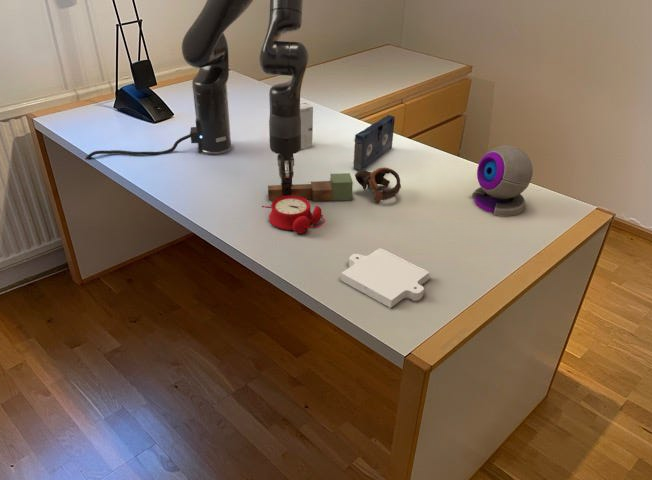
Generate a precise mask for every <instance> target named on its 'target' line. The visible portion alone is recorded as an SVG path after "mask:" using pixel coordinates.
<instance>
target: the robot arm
mask: <svg viewBox="0 0 652 480" xmlns="http://www.w3.org/2000/svg"><path fill="white" fill-rule="evenodd" d="M303 1H304V0H269V18H268V26H267V30H266V34H265V37H264V40H263V43H262V45H261V49H260V54H259V65H260V68H261V70H262V71H263V72H264V73H265V74H266V75H269V76H284V77H285V76H286V77H287V76H288V77H291V78H290V80H288V81H286V82H281V83H276V84H274V85H272V86H271V87H270V89H269V92H268V95H269V117H268V130H269V131H268V134H269V135H268V137H269V149H270V151H271V152H272V153H274V154H277V155H276V157H277V167H278V171H279V172H278V175H279V178H280V185H281V186H282V195H283V196H289V195H291V187H292V186H293V185H294V184H293V178H294V166H295V157H294V155H295V154H297V153H299V152H300V151H301V150H302V149H301V116H300V104H301V91H302V87H303V86H302V85H303V80H304V77H305V74H306V71H307V67H308V63H309V57H310V56H309V51H308V48H307V46H306V45H305V44H304V43H303V42H301V41H292V40H291V41H288V40H287V41H285V40H279V39H280V38H281V37H282V36H283V35H286V34H290V33H294V32H298V31H299V30H300V29H301V27H302V20H303ZM253 2H254V0H206V2H205V4H204V5H203V8H202V9H201V11H200V12H199V14H198V16H197V17H196V19H195V20H194V22H193V23H192V24H191V26H190V27H189V29H188V30H187V32H186V33H185V34H184V36H183V38H182V42H181V54H182V57H183V59H184V61H185V62H186V63H187V65H189V66H191V67H192V68H197V69H198V71H197V73H196V74H195V76H194V77H193V79H192V80H191V81H192V83H191V85H192V95H193V102H194V111H195V126H191V127H190V132H189V133H188V134H187V135H185V136H182V137H180V138H179V139H176V141H175V142H174V143H173V145H172V147H170V148H168V149H166V150H162V151H131V150H120V149H119V150H118V149H115V150H114V149H111V150H94V151H92V152H90V153H89V154H87V155H86V157H85V158H84V159H85V160H90V159H91V158H92V157H93V156H95V155H112V154H113V155H115V154H117V155H118V154H122V155H133V156H157V155H165V154H169V153H172V152H173V151H175V150H176V149H177V147H178V145H179V144H180V143H181V142H184V141H185V140H187V139H190V143H191V144H197V148H198V154H199V153H200V154H206V155H223V154H226V153H228V152H230V151H231V150H232V145H233V144H232V139H231V138H232V137H231V125H230V124H231V123H230V112H229V100H228V86H227V85H228V81H229V77H230V75H229V74H230V68H229V67H230V65H229V64H230V62H229V61H230V60H229V46H228V40H227V37H226V36H225V32H226V31H227V29H228V28H229V27H230V26H231V25H232V24H233V23H234V22H236V21H237V20H238V19H239V18H240V17H241V16H242V15H243V14H244V13H245V12H246V11H247V9H248V8H249V7H250V6H251V4H253Z"/></svg>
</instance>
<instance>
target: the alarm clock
mask: <svg viewBox="0 0 652 480" xmlns="http://www.w3.org/2000/svg"><path fill="white" fill-rule="evenodd" d="M271 202H272V203H271V204H270V206H266V205H265V206H264V205H261V208H265V209H266V208H267V209H271V210H270V211H271V212H270V213H269V215H268V219H269V222H270V224H271V225H273V226H274V227H276V228H278V229H280V230H285V231H286V230H287V231H294V232H295V233H296V234H303V233H305V232H307V231H308V230H309V229H318V228H320V227H322V226H323V225H324V224H326V219H325V218H324V214H323V210H322V208H321V207H320V206H319V205H315V207H314V208H313V211H312V212H311V208H312V207H311V206H312V205H311V203H310V201H309V199H305V198H303V197H299V196H292V195H289V196H283V195H282V197H279V198H277V199H275V200H272V201H271ZM321 219H322V220H323V222H322V224H320V225H318V224H319V223H320V222H321ZM311 224H313V225H317V226H311Z"/></svg>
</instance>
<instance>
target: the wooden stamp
mask: <svg viewBox="0 0 652 480" xmlns="http://www.w3.org/2000/svg"><path fill="white" fill-rule="evenodd" d="M332 194H333V189H332V186H331V182H330V180H320V181H319V180H318V181H317V180H316V181H310V183H301V184H299V183H298V184H296V183H295V184H293V186H292V187H291V195H292V196H299V197H303V198H305V199H306V200H312V202H317V201H318V202H323V201H332ZM279 197H282V186H281V184H275V185H274V184H273V185H267V198H268V202H269V201H274V200H275V199H277V198H279Z"/></svg>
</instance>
